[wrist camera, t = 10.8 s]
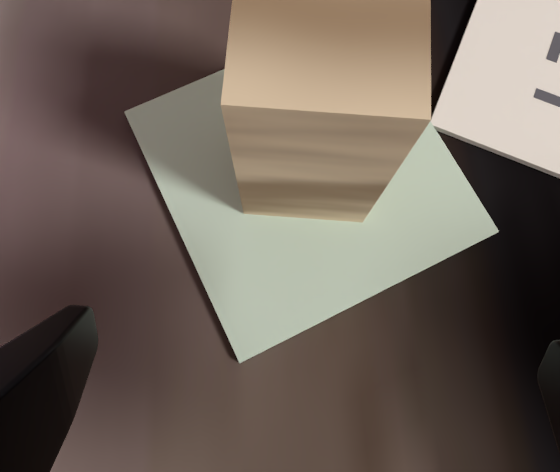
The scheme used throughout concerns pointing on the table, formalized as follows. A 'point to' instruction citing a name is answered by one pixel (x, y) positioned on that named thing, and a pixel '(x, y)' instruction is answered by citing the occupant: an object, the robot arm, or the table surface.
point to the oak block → (324, 101)
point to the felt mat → (296, 224)
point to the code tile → (507, 83)
